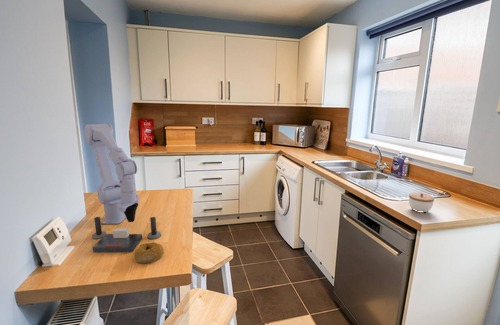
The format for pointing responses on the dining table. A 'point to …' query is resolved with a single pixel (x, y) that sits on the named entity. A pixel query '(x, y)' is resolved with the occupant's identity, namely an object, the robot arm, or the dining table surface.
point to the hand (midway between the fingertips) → (131, 221)
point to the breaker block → (117, 243)
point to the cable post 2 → (153, 229)
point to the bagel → (148, 252)
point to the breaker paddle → (120, 233)
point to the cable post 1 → (98, 229)
